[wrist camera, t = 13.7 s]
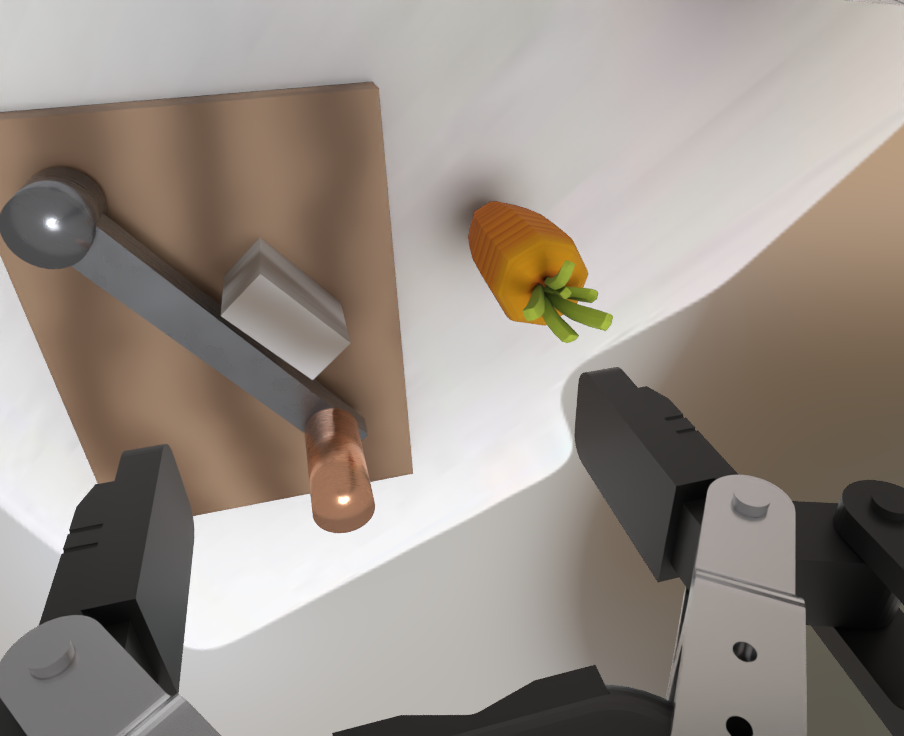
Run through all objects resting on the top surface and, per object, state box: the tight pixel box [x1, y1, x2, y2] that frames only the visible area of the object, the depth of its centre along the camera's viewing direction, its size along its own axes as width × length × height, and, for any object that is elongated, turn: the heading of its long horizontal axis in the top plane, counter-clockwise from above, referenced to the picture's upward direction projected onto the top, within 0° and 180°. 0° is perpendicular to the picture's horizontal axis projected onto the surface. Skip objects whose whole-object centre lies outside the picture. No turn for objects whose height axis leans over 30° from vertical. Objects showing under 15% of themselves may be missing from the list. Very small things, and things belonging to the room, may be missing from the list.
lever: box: [0, 167, 375, 533], centre depth 34 cm, size 4×22×10 cm, turn 40°
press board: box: [0, 82, 413, 516], centre depth 38 cm, size 20×26×7 cm
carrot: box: [468, 201, 613, 343], centre depth 35 cm, size 5×5×15 cm
